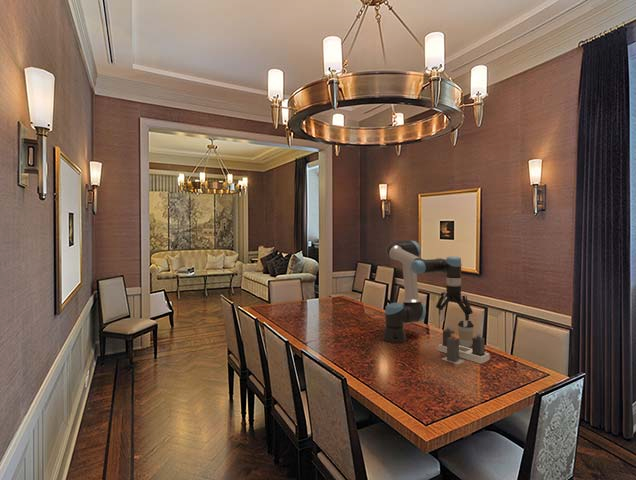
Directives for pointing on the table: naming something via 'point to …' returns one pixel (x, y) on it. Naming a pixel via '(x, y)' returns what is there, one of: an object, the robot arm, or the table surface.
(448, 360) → the mat
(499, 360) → the table surface
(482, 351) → the strip
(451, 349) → the plug
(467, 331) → the coffee cup
